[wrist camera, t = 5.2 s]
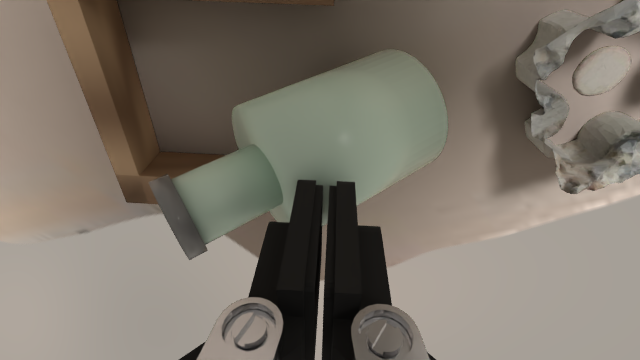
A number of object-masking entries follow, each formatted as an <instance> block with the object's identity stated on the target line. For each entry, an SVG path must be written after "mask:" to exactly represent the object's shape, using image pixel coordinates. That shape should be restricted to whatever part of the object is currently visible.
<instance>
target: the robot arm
mask: <svg viewBox="0 0 640 360" xmlns="http://www.w3.org/2000/svg"><path fill="white" fill-rule="evenodd" d="M322 208H323V185H316V180H298V181H297V186H296V191H295V196H294V201H293V207H292V212H291V217H290V222H269V224H268V227H267V231H266V234H265V238H264V242H263V245H262V249H261V253H260V256H259V260H258V264H257V267H256V271H255V275H254V278H253V282H252V286H251V290H250V293H249V297H248V298H245V299H241V300H239V301H236V302H234V303H232V304H231V305H230V306H228V307H227V308H226V309H225V310H224V311H223V312H222V313H221V315H220V316H219V318H218V319H217V321H216V323H215V325H214V327H213V329H212V331H211V333H210V335H209V337H208V339H207V340H206V342H204V343H203V344H201V345H200V346H198V347H197V348H195V349H194V350H192V351H191V352H190V353H188V354H187V355H185V356H184V357H182V358H181V359H179V360H315V359H314V358H315V345H316V329H317V314H318V299H319V284H320V283H319V282H320V269H321V251H322ZM323 313H324V314H323V342H322V360H436V359H435V358H433V357H432V356H431V355H430V354H429V353H428V352H427V350H426V348H425V345H424V342H423V339H422V337H421V334H420V331H419V329H418V328H417V326H416V324H415V322H414V321H413V320H412V318H411V317H410V316H409V315H408V314H407V313H405V312H404V311H402V310H400V309H399V308H397V307H394V306H392V303H391V297H390V289H389V284H388V276H387V269H386V262H385V255H384V248H383V241H382V234H381V229H380V227H378V226H358V222H357V206H356V189H355V182H347V181H337V186H329V205H328V225H327V244H326V264H325V285H324V311H323Z"/></svg>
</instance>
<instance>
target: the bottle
mask: <svg viewBox="0 0 640 360" xmlns="http://www.w3.org/2000/svg"><path fill="white" fill-rule="evenodd" d="M232 127H233V132H234V136H235V140H236V143H237V147H238V150H237V151H235V152H232V153H230V154H228V155H225V156H223V157H221V158H219V159H216V160H214V161H212V162H209V163H207V164H205V165H202V166H200V167H198V168H195V169H193V170H191V171H189V172H186V173H184V174H182V175H179V176H177V177H175V178H172V179H170V177H169V175H168V174H165V175H163V176H161V177H158V178H156V179H154V180H151V181H149V182H148V183H149V185H150V187H151V190H152V192H153V194H154V196H155V198H156V200H157V202H158V204H159V206H160V208H161V210H162V212H163V214H164V216H165V218H166V220H167V222H168V223H169V225H170V227H171V229H172V231H173V233H174V235H175V236H176V238H177V240H178V242H179V244H180V245H181V247H182V249H183V251H184V252H185V254H186V256H187V257H188V259H189V260H191V259H192V258H194V257H196V256H198V255H200V254H202V253H204V252H206V251H207V248H206V246H205V245H206V244H208V243H209V242H211V241H213V240H215V239H217V238H219V237H221V236H223V235H225V234H227V233H228V232H230V231H232V230H234V229H236V228H238V227H240V226H242V225H244V224H245V223H247V222H249V221H251V220H253V219H255V218H257V217H259V216H261V215H263V214H264V213H266V212H268V211H269V212H270V213H271V215H272V216H273V217H274V219H275V220H276V221H277V222H290V217H291V212H292V207H293V201H294V196H295V191H296V186H297V181H298V180H316V185H323V208H322V226H324V225H325V224H327V223H328V205H329V186H337V181H347V182H355V189H356V206H358V205H359V204H361V203H363V202H365V201H366V200H368V199H370V198H371V197H373V196H375V195H376V194H378V193H380V192H382V191H383V190H385V189H387V188H388V187H390V186H392V185H393V184H395V183H397V182H399V181H400V180H402V179H404V178H405V177H407V176H409V175H410V174H412V173H414V172H416V171H417V170H419V169H421V168H422V167H424V166H426V165H427V164H429V163H431V162H432V161H434V160H435V159H436V158H437V157H438V156H439V155H440V153H441V151H442V150H443V148H444V145H445V143H446V139H447V133H448V116H447V109H446V105H445V101H444V99H443V96H442V93H441V91H440V89H439V87H438V84H437V83H436V81H435V79H434V78H433V76H432V75H431V74H430V72H429V71H428V70H427V68H426V67H425V66H424V65H423V64H422V63H421V62H419V61H418V60H417V59H416V58H414V57H413V56H411V55H409V54H408V53H405V52H403V51H400V50H395V49H388V50H383V51H380V52H377V53H375V54H372V55H369V56H367V57H364V58H361V59H359V60H356V61H353V62H351V63H348V64H345V65H343V66H340V67H337V68H335V69H332V70H329V71H327V72H324V73H322V74H319V75H316V76H314V77H311V78H308V79H306V80H303V81H300V82H298V83H295V84H292V85H290V86H287V87H284V88H282V89H279V90H276V91H274V92H271V93H268V94H266V95H263V96H261V97H258V98H255V99H253V100H250V101H247V102H245V103H242V104H239V105H237V106H235V107H234V108H233V111H232Z"/></svg>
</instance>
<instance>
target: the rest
mask: <svg viewBox="0 0 640 360" xmlns="http://www.w3.org/2000/svg"><path fill="white" fill-rule="evenodd" d="M194 1H221V2H248V3H275V4H302V5H329V6H334V0H194ZM47 2H48V5H49V7H50V10H51V12H52V15H53V17H54V20H55V22H56V25H57V28H58V30H59V33H60V35H61V38H62V40H63V43H64V45H65V48H66V50H67V53H68V55H69V58H70V60H71V63H72V65H73V68H74V70H75V73H76V76H77V78H78V81H79V83H80V86H81V88H82V91H83V93H84V96H85V98H86V101H87V103H88V106H89V108H90V111H91V113H92V116H93V119H94V121H95V124H96V126H97V129H98V131H99V134H100V136H101V139H102V141H103V144H104V146H105V149H106V151H107V154H108V156H109V159H110V162H111V164H112V167H113V169H114V172H115V174H116V177H117V179H118V182H119V184H120V187H121V189H122V192H123V194H124V197H125V199H126V202H129V203H147V204H158V202H157V200H156V198H155V196H154V194H153V192H152V190H151V187H150V185H149V183H148V182H149V181H151V180H154V179H156V178H158V177H161V176H163V175H165V174H168V175H169V177H170V179H172V178H175V177H177V176H179V175H182V174H184V173H186V172H189V171H191V170H193V169H195V168H198V167H200V166H202V165H205V164H207V163H209V162H212V161H214V160H216V159H219V158H221V157H223V156H225V155H216V154H196V153H177V152H160V149H159V146H158V142H157V139H156V135H155V132H154V128H153V125H152V122H151V118H150V115H149V111H148V108H147V104H146V101H145V97H144V94H143V90H142V87H141V83H140V80H139V77H138V73H137V70H136V66H135V63H134V59H133V56H132V52H131V49H130V45H129V42H128V38H127V35H126V32H125V28H124V25H123V21H122V18H121V14H120V11H119V7H118V4H117V0H47Z"/></svg>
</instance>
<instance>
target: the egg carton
mask: <svg viewBox="0 0 640 360" xmlns="http://www.w3.org/2000/svg"><path fill="white" fill-rule="evenodd" d="M586 29H592V30H594V31H597V32H600V33H603V34H606V35H608V36H611V37H613V38H620V37H627V36H630V35H633V34H635V33H638V32H640V0H624V1H622V2H620V3H618V4H617V5H615V6H613V7H611V8H608V9H606V10H604V11H602V12H600V13H598V14H596V15H594V16H592V17H590V18H589V17H587V16H584V15H580V14H578V13H576V12H572V11H569V10H566V9H565V10H561V11H558V12H555V13H553V14H551V15H548V16H546V17H544V18H543V19H541V20H540V21H539V24H538V32H537V35H536V37H535V40H534V41H533V43H532V44H531V45H530V47H529V48H528V49H527V50H526V51H525V52H523V53H522V54H521V55H520V56H518V57H517V59H516V61H515V67H516V77H517V78H518V79H519V80H520V81H521V82H523V83H524V84H525V85H527V86H528V87H529V88H530V89H532V90H533V91H534V92H535V93H536V97H537V100H538V102H539V104H540V105H541V106H543V107H542V108H541V109H539V110H537V111H535V112H533V113H531V118H529V119H528V120H526V121H525V130H526V136H527V138H528V139H529V140H530V141H531V142H532V143H533V144H534V145H535V146H536V147H537V148H538V149H539V150H540V151H541V152H543V153H544V155H545V156H546V157H547V158H554V159H555V161H556V172H555V173H556V175H557V177H558V180H559V185H560V188H561V189H562V190H564V191H565V192H567V193H570V194H578V193H580V192H581V191H583V190H585V189H588V190H593V191H595V190H598V189H601V188H604V187H605V186H607V185H609V184H612V183H621V182H623V181H625V180H626V179H629V178H631V177H633V176H634V175H636V174H640V119H638V120H635V119H634V118H632V117H630V116H628V115H626V114H624V113H622V112H617V111H609V112H604V113H602V114H599V115H597V116H596V117H594V118H592V119H591V120H589V121H588V122H587V123H586V124H585V125H584V126H583V127H582V129H581V130H580V132H579V134H578V137H577V139H576V140H573V141H571V142H568V143H565V144H561V145H555V144H554V143H553V142H551V141H550V140H549V139H547V138H549V137H551V136H553V135H554V134H556V133H557V132H558V131H559V130H560V129H561V128H562V126H563V124H564V122H565V120H566V118H567V116H568V112H569V105H568V103H567V100H566V99H565V98H564V97H563V96H562V95H561V94H559V93H558V92H556V91H555V90H553V89H552V88H550V87H549V86H547V85H546V84H545V83H543V82H542V81H540V80H546V78H547V77H548V75H549V74H550V73H551V72H552V71H554V70H556V69H558V68H559V67H560V66H561V65H562V64H563V63H564V57H565V55H566V53H567V52H568V50H569V47H570V45H571V43H572V41H573V40H574V39H575V38H576V37H577V36H578V35H579V34H580V33H582V32H583V31H584V30H586ZM630 65H631V57H630V54H629V53H628V52H627V50H626V49H625V48H622V47H618V46H606V47H602V48H599V49H597V50H595V51H593V52H592V53H591V54H589V55H588V56H586V57H585V58H584V59H583V61H582V62H581V63H580V64H579V66H578V67H577V68H576V70H575V72H574V75H573V85H574V88H575V89H577V91H578V92H579V93H581V94H584V95H588V96H592V95H598V94H602V93H604V92H607V91H609V90H610V89H611V88H614V87H615V86H616V85H617V84H618V83H619V82H621V81H622V79H623V78H624V77H625V76H626V74H627V72H628V70H629V69H630Z"/></svg>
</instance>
